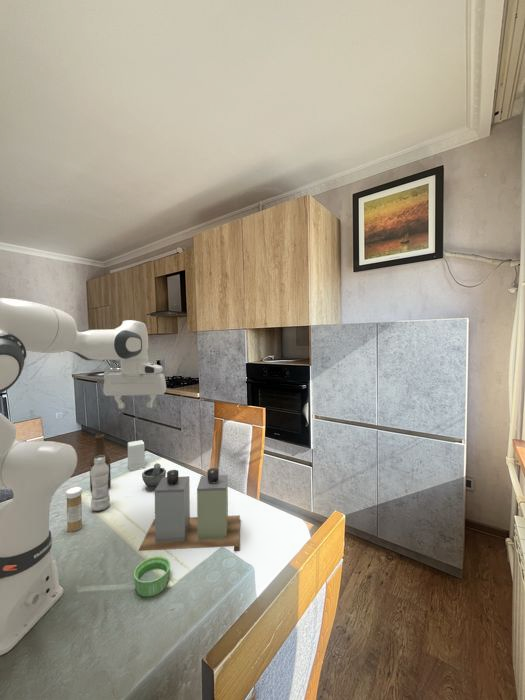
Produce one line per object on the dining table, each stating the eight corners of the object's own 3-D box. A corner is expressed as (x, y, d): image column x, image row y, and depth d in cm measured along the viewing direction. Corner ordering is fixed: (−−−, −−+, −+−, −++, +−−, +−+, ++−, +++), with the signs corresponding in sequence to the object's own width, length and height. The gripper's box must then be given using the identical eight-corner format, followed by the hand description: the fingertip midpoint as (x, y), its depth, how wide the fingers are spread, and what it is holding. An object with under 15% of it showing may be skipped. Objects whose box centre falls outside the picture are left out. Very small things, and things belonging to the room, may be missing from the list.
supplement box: (145, 468, 150) (144, 443, 150) (129, 471, 147) (128, 446, 146) (143, 463, 157) (142, 439, 156) (127, 466, 153) (127, 442, 153)
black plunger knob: (224, 534, 94) (223, 475, 94) (200, 535, 94) (199, 475, 93) (225, 520, 102) (225, 465, 101) (203, 521, 101) (203, 466, 101)
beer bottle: (91, 487, 130) (90, 433, 130) (111, 484, 133) (110, 431, 133) (89, 496, 123) (88, 438, 123) (110, 492, 126) (109, 436, 126)
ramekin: (134, 577, 80) (134, 561, 80) (169, 567, 84) (169, 552, 84) (133, 604, 72) (132, 586, 72) (171, 592, 75) (171, 575, 75)
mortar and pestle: (140, 486, 132) (139, 459, 131) (161, 480, 137) (161, 454, 137) (147, 496, 122) (146, 467, 122) (169, 490, 128) (169, 462, 128)
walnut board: (239, 550, 90) (239, 545, 90) (138, 555, 88) (138, 550, 88) (239, 519, 106) (239, 515, 106) (154, 523, 104) (154, 518, 104)
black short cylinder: (182, 536, 93) (181, 476, 93) (158, 537, 93) (157, 477, 92) (187, 522, 101) (186, 467, 100) (164, 523, 100) (164, 467, 100)
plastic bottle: (113, 504, 117) (112, 453, 116) (102, 514, 110) (101, 460, 110) (98, 503, 117) (97, 453, 117) (86, 513, 111) (85, 460, 110)
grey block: (184, 540, 93) (184, 489, 92) (155, 542, 92) (154, 490, 92) (189, 523, 102) (189, 476, 101) (163, 524, 101) (162, 477, 101)
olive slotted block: (226, 538, 93) (226, 487, 93) (197, 540, 93) (197, 488, 92) (227, 521, 102) (227, 475, 102) (201, 522, 102) (201, 475, 101)
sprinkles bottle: (69, 525, 103) (69, 487, 103) (84, 523, 104) (83, 485, 104) (64, 533, 99) (63, 493, 99) (79, 531, 100) (79, 492, 100)
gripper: (99, 369, 98) (100, 410, 98) (162, 368, 99) (162, 409, 100) (108, 367, 104) (108, 406, 104) (167, 366, 105) (167, 405, 106)
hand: (135, 408), depth 102 cm, fingers open, 8 cm apart
